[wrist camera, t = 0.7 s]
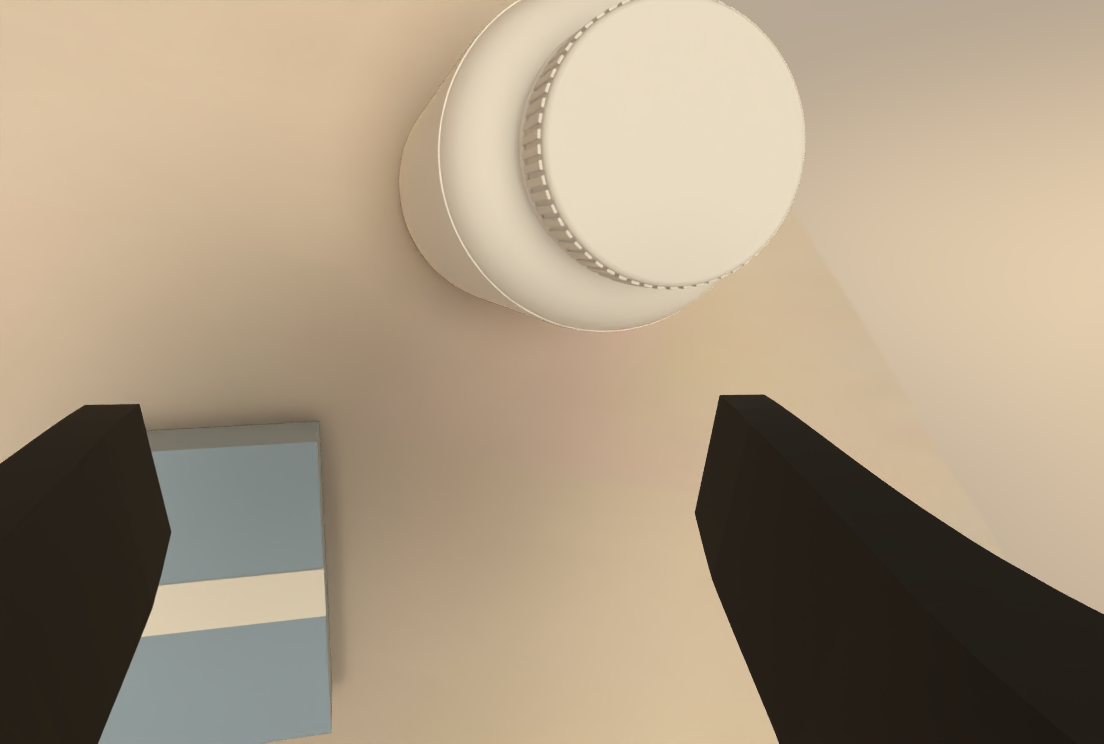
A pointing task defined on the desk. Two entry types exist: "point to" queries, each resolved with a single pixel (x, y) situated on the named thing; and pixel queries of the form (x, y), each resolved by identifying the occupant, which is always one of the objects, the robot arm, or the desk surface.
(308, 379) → the desk surface
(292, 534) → the carton
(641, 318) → the pill bottle
